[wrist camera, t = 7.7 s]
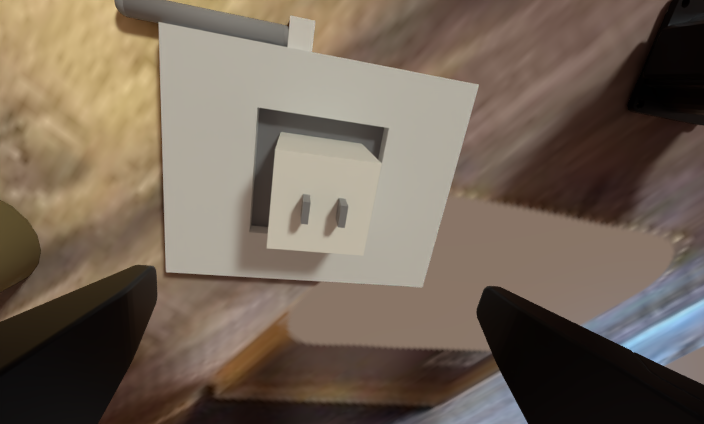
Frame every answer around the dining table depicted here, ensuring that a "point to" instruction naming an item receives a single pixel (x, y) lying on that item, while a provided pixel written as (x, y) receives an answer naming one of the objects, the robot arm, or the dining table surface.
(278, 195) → the charger brick
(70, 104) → the dining table surface
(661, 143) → the dining table surface
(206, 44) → the outlet plate
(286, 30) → the grey bar
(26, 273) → the olive pawn
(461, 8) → the dining table surface
